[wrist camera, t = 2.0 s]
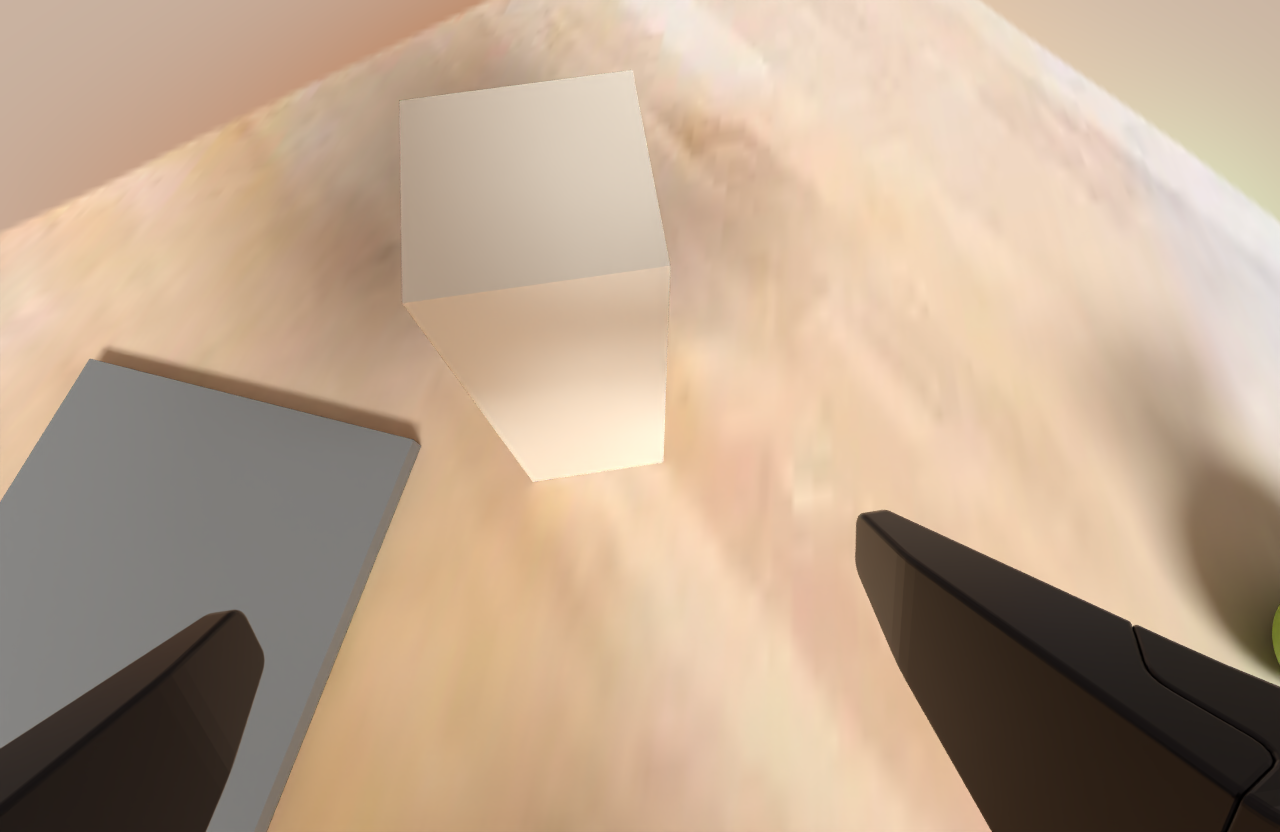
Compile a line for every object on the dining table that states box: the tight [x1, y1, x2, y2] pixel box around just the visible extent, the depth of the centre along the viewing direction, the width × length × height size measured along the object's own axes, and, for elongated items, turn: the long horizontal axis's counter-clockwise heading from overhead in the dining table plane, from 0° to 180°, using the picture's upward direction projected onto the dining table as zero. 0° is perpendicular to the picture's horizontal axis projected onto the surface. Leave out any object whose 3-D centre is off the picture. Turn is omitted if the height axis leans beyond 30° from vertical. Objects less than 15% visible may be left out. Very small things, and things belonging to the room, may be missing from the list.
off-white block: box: [399, 70, 670, 482], centre depth 18 cm, size 5×5×13 cm
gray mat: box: [0, 359, 421, 832], centre depth 22 cm, size 14×14×1 cm
